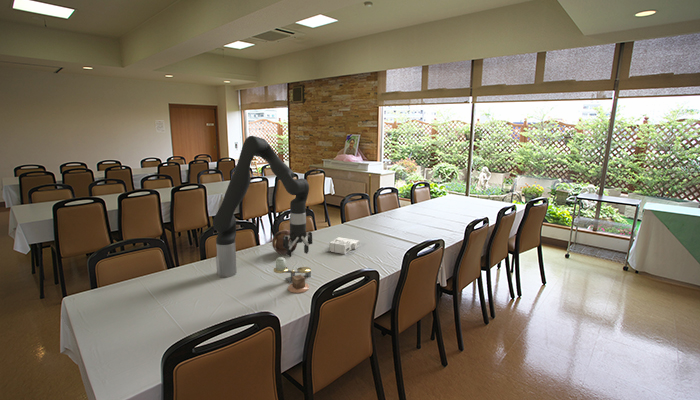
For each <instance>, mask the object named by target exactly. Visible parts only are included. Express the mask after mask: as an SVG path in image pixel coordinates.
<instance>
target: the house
mask: <svg viewBox="0 0 700 400" xmlns="http://www.w3.org/2000/svg"><path fill="white" fill-rule="evenodd" d="M359 243H360V240H357V239H353V238H352V239H351V238H345V237H339V236H338V237H337V238H334V239H333V240H332V241H330V242H329V252H330V251H331V252H332V253H336V254H340V255H341V254H342V255H345V254H347V253H349V252H350V251H351V250H356V249H358V248H359V247H360V244H359ZM331 252H330V253H331Z"/></svg>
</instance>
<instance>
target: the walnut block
mask: <svg viewBox="0 0 700 400" xmlns="http://www.w3.org/2000/svg"><path fill="white" fill-rule="evenodd" d="M305 283H306V276H303V275H302V273H299V274H297V275H295V276H293V277H292V283H291V284H292V286H293V287H294V288H295V289H296V290H298V289H301V288H305Z"/></svg>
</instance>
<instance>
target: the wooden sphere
mask: <svg viewBox="0 0 700 400" xmlns="http://www.w3.org/2000/svg"><path fill="white" fill-rule="evenodd" d="M284 235H286V236H288V235H290V229H289V230H287V229H283V230H279V231H277V232H276V233H275V234H274V235H273V237H272V241H271V242H272V243H271V244H272V248H273V250H274V251H275V252H276V253H277V254H280V255H283V256H285V255H287V249H285V248H284V247H283V236H284ZM289 241H290V238H289V240H288V244H289ZM292 242H293V241H292ZM297 246H298V243H297V244H296V243H295V244H294V246H293V247H292V248H291V254H292V253H293V252H294V251H295V250H296V249H297ZM287 256H288V255H287Z"/></svg>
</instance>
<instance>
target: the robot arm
mask: <svg viewBox="0 0 700 400" xmlns="http://www.w3.org/2000/svg"><path fill="white" fill-rule="evenodd" d="M254 157H260V158H261V159H263V160H264V161H265V162H267V164H268V165H269V168H270V170H271V171H272V173H273V174H274V175H275V176H276V177H277V179H279V181H280V182H281V183H282V186H283V187H284V189H285V191H286V192H287V193H288V194H290V195H291V196H295V197H294V198H293V199H292V200H291V201H290V202H289V203H290V204H289V205H290V206H289V207H290V208H289V231H290V235H288V236H286V235H284V236H283V247H284V248H285V249H287V256H288V257H289V258H291V257H292V253H291V248H292V247H293V246H294V244H295V243H296V244H297V245H298V244H302V243H303V244H304V245H303V250H304V251H303V252H304V254H306V255H307V254H308V253H309V251H310V250H309V246H310V245H313V232H311V231H309V230H307V213H306V209H307V207H306V206H307V205H306V203H307V200H308V196H309V191H310V185H309V182H308V180H307V179H305V178H297V179H295V178H294V177H295V172H294V171H293V170H292V169H291V168H290V166H288V164H286V163H285V162H284V161H283V160H282V159H281V158H280V157H279V156H278V155H277V153H276V152H275V151H274V149H273V148H272V147H271V145H270V143H268V141H267V140H266V139H264V138H263V137H259V136H255V135H250V136H247V137H246V138H245V140H244V142H243V144H242V147H241V150H240V153H239V157H238V160H237V163H236V165H235V168H234V172H232V173H233V174H232V175H231V178H230V180H229V183H228V185H227V189H226V191H225V193H224V196H223V199H222V202H221V204H220V206H219V208H218V210H217V211H216V213H215V215H214V217H213V219H212V227H213V229H214V230H215V231H216V232H217V235H216V238H215V240H216V241H215V243H216V256H215V262H216V263H215V264H216V274H217V275H218V276H219V278H228V277H233V276H235V275H236V274H237V273H238V272H237V271H238V270H237V268H238V267H237V255H236V254H237V253H236V252H237V251H236V236H237V219H236V217H235V215H234V214H235V211H236V210H237V208H238V206H239V204H241V202H242V200H243V199H244V197H245V196H246V194H247V192H248V189H249V188H250V184H251V179H252V178H251V170H250V169H251V164H252V162H253V159H254ZM306 237H307V239H306ZM289 238H290V241H289V244H288V240H289ZM292 241H293V242H292Z"/></svg>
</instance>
